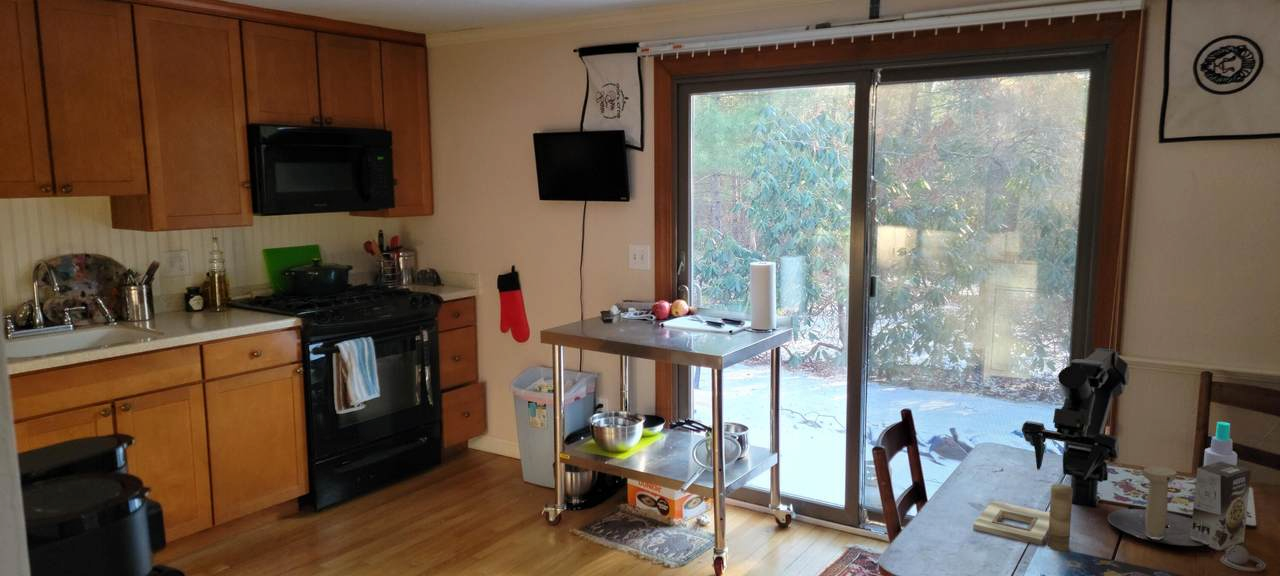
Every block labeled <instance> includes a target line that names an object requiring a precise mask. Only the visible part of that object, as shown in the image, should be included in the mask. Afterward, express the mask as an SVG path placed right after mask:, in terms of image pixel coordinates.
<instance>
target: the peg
mask: <svg viewBox="0 0 1280 576" xmlns="http://www.w3.org/2000/svg"><path fill="white" fill-rule="evenodd" d="M1050 487H1051V488H1050V503H1049V513H1050V517H1049V530H1048V535H1047V546H1048V548H1049V549H1051V550H1053V551H1057V552H1058V551H1059V552H1067V551H1068V550H1069V549H1070V537H1071V523H1072V522H1071V521H1072V509H1073V508H1072V507H1073V505H1072V504H1073V503H1072V494H1073V488H1071V487H1070V485H1066V484H1059V483H1055V484H1052V485H1051V486H1050Z"/></svg>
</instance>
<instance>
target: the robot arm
mask: <svg viewBox="0 0 1280 576" xmlns="http://www.w3.org/2000/svg"><path fill="white" fill-rule="evenodd" d="M1129 369H1130V368H1129V364H1128V363H1127V362H1126V361H1125V360H1124V359H1122V358H1121V357H1120V356H1119V352H1118V351H1116V350H1114V349H1110V348H1108V349H1107V348H1102V347H1101V348H1099V347H1097V348H1094V349H1093V351H1092V353H1091V354H1090V355H1089V356H1087V357H1086V358H1085V359H1082V358H1081V359H1079V358H1076V359H1072V360H1071V361H1070V363H1068V364H1067V365H1066V366H1065V367H1064V368H1063V369H1061V370H1060V372H1059V373H1058V375H1057V378H1058V382H1059V385H1060V389H1061V391H1062V395H1063V396H1064V401H1063V404H1062V406H1061V408H1057V407H1056V408H1055V409H1054V412H1053V413H1054V414H1053V419H1052V423H1053V424H1054V425H1053V427H1054V429H1056V430H1055V431H1054V430H1049V429H1046V428H1045V424H1044V423H1042V422H1037V421H1031V420H1027V421H1025V422H1024V423H1023V424H1022V427H1021V433H1022V435H1023V437H1024V440H1025V441H1026V442H1028V443H1029V444H1030V446H1032V447H1033V448H1034V452H1035V453H1034V454H1035V464H1036V470H1037V471H1040V470H1041V467H1042V464H1043V459H1044V455H1045V449H1046V446H1045V443H1046V440H1047V439H1048V440H1052V441H1057V442H1062V443H1068V446H1067V448H1066V449H1064V451H1063V454H1062V474H1063V475H1068V476H1070V485H1069V486H1070V487H1071V488H1073V494H1072V504H1077V505H1083V506H1088V507H1091V508H1093V507H1094V508H1096V507H1097V506H1098V505H1099V502H1100V500H1101V497H1100V496H1098V487H1099V486H1098V485H1099V484H1098V483H1103V481H1104V482H1106V481H1108V480H1109V479H1108V478H1109V470H1108V469H1109V468H1108V463H1107V461H1110V459H1118V458H1119V457H1118V456H1119V452H1120V447H1119V442H1118V439H1117V438H1116V436H1115V435H1111V434H1105V433H1104V431H1105V428H1106V424H1107V421H1108V418H1109V413H1110V411H1111V407H1112V404H1113V400H1114V399H1116V398H1117V397H1119V396H1121V395H1122V394H1123V392H1124V389H1125V386H1128V384H1129V383H1130V382H1129V381H1130V370H1129Z"/></svg>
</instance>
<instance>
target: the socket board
mask: <svg viewBox="0 0 1280 576" xmlns="http://www.w3.org/2000/svg"><path fill="white" fill-rule="evenodd" d="M1049 517H1050V511H1044V510H1039V509H1034V508H1029V507H1025V506H1020V505H1016V504H1011V503H1005V502H1003V501H998V500H997V501H996V500H991V501H990V502H989V503H988V505H987V506H986V507H985V509H984V510H983V511H982V513H980V515H979V516H978V517H977V519H976V520H975V522H974V523H973V527H972V528H973V530H975V531H979V532H984V533H988V534H993V535H996V536H997V535H998V536H1001V537H1006V538H1011V539H1014V540H1018V541H1023V542H1027V543H1031V544H1036V545H1041V546H1042V545H1043V543H1044V542H1045V541H1046V539H1047V538H1048V530H1049ZM1003 518H1004V519H1008V520H1014V521H1017V522H1023V523H1028V524H1029V525H1028V526H1027V527H1022V526H1018V525H1013V524H1010V523H1003V522H1001V521H1002V519H1003Z"/></svg>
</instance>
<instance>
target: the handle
mask: <svg viewBox="0 0 1280 576" xmlns="http://www.w3.org/2000/svg"><path fill="white" fill-rule="evenodd" d="M1177 475H1178V472H1177V471H1176V470H1174V469H1172V468H1168V467H1163V466H1151V467H1145V468H1143V469H1142V476H1143V477H1144V478H1145V479H1147V480H1149V487H1148V494H1147V500H1146V508H1145V514H1144V515H1145V518H1144V521H1145V522H1144V523H1145V524H1144V525H1145V530H1146V531H1145V535H1146V534H1147V535H1149V536H1151V537H1162V536H1165V530H1166V526H1167V521H1168V492H1169V491H1168V489H1169V488H1168V487H1169V483H1171V482H1173V481H1174V480H1176V479H1177V477H1178V476H1177Z"/></svg>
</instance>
